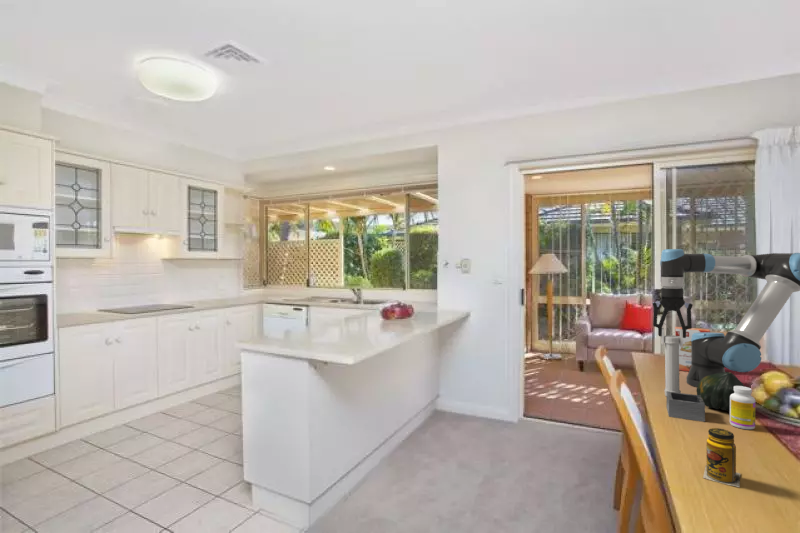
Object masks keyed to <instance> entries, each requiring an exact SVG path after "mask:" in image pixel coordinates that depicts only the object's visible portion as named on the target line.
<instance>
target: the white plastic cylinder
mask: <svg viewBox="0 0 800 533" xmlns="http://www.w3.org/2000/svg"><path fill="white" fill-rule="evenodd" d="M663 325H665V326H666V327H667V328H668V329H669V331H670V335H664V358H665V359H664V364H665V367H664V368H665V370H664V371H665V372H664V373H665V374H664V376H665V377H664V378H665V388H664V390H663V391H664V396H665V397H667V391H668V392H676V393H682V391H681V390H680V370H679V344H680V338H679V337H678V336H675V335H672V331H671V328H670V326H669V325H667V324H666V323H665V322H664V323H663Z"/></svg>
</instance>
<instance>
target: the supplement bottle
mask: <svg viewBox="0 0 800 533" xmlns="http://www.w3.org/2000/svg"><path fill="white" fill-rule="evenodd" d="M744 386H745V385H744ZM744 386H734V389H733V390H734V393H733V394H731V395H730V412H729V424H730V425H731V426H733V427H734V428H738V429H742V430H749V431H750V430H754V429H755V428H756V399H755V397H754V396H753V395H752V393H753V391H752V388H750V387H748V386H745V387H744Z"/></svg>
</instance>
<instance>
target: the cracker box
mask: <svg viewBox="0 0 800 533" xmlns="http://www.w3.org/2000/svg"><path fill="white" fill-rule="evenodd" d="M674 328H675V330H674V331H675V334H674V336H678V337H679V338H680V329H682V327H681V326H674ZM698 332H711V330H710V329H709V328H697V327H696V328H694V327H692V328H691V329H687V330H686V338H683V347H680V344H679V371H683V372H689V370H690V368H691V339H692V334H693V333H698Z"/></svg>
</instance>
